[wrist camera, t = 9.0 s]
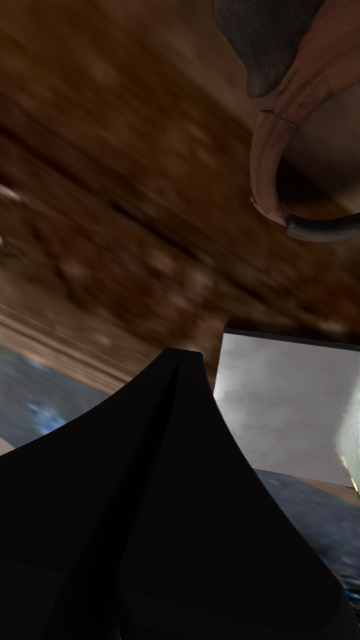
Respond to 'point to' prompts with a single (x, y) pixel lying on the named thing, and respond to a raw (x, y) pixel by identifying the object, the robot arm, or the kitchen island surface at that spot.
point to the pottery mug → (292, 86)
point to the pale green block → (356, 470)
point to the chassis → (291, 403)
